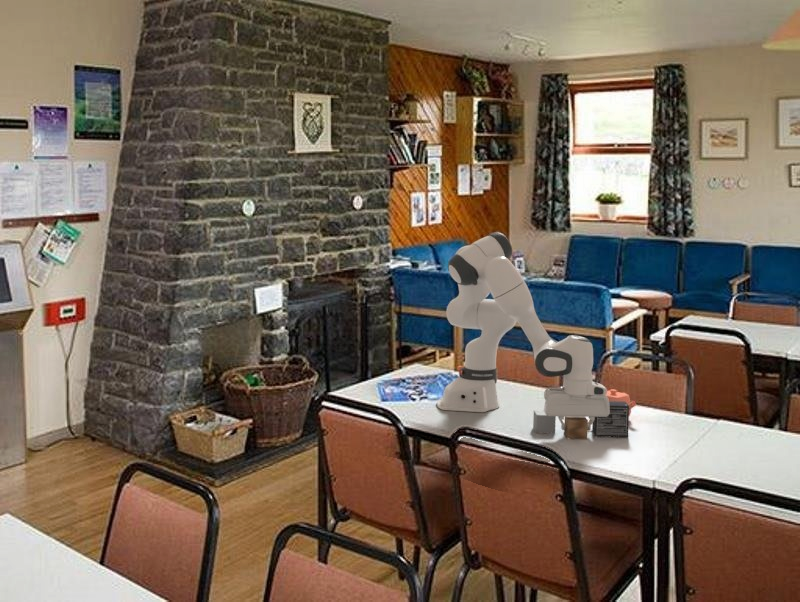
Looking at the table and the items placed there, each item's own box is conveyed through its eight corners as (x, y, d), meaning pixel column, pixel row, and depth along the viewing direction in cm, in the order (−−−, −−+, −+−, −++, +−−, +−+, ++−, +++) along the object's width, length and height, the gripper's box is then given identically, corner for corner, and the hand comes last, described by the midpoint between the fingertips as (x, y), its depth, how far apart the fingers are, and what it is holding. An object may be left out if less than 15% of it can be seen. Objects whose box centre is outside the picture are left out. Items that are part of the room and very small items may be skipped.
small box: (624, 432, 260) (626, 400, 258) (628, 438, 253) (630, 405, 252) (591, 431, 261) (592, 399, 259) (594, 437, 254) (596, 404, 253)
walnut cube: (568, 438, 252) (568, 420, 251) (564, 433, 258) (564, 415, 257) (587, 439, 252) (587, 420, 251) (582, 433, 258) (583, 415, 257)
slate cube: (536, 433, 258) (536, 415, 257) (533, 428, 264) (533, 410, 263) (555, 433, 258) (555, 415, 257) (551, 428, 264) (552, 410, 263)
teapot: (632, 415, 280) (633, 386, 279) (635, 424, 268) (636, 395, 267) (590, 413, 283) (591, 384, 281) (591, 422, 271) (592, 392, 270)
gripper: (546, 389, 250) (544, 432, 251) (612, 389, 250) (610, 432, 251) (542, 384, 256) (541, 426, 258) (607, 384, 256) (605, 427, 258)
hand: (575, 429), depth 254 cm, fingers closed on walnut cube, 6 cm apart
